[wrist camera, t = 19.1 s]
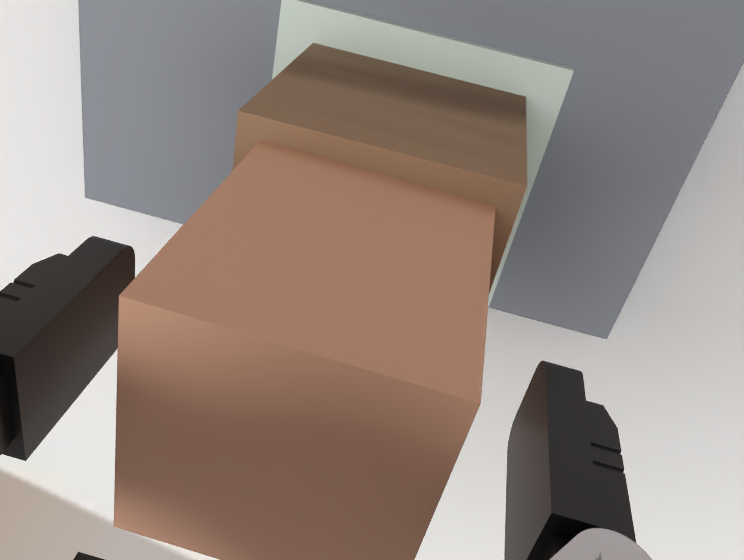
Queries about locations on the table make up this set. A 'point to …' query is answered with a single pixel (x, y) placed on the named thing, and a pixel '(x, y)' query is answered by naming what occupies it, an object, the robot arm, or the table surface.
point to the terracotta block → (302, 364)
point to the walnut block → (397, 128)
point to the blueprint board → (448, 58)
